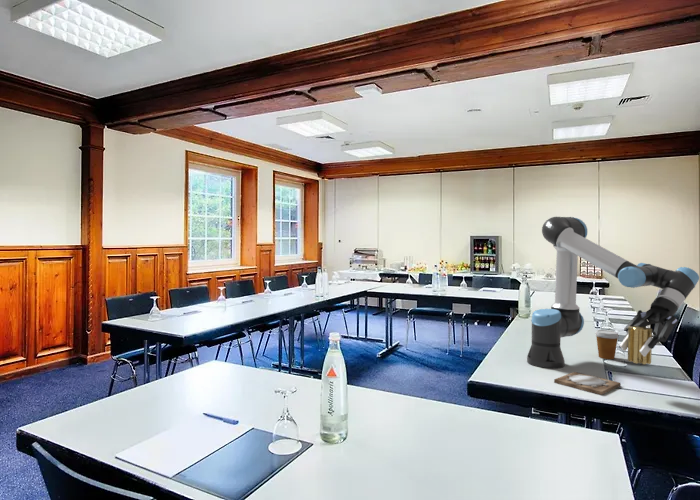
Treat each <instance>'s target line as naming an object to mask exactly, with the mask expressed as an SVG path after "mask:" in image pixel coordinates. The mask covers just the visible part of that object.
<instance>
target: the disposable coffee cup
mask: <svg viewBox="0 0 700 500" xmlns="http://www.w3.org/2000/svg"><path fill="white" fill-rule="evenodd" d="M594 334H595V337H596V344H597V353H598V354H597V355H598V357H599V358H600V359H603V360H614V359H615V357H616V350H617V345H618V340H619V337H620V335H619V333H618V332H617V331H614V330H609V329H608V330H607V329H597V330H596V331H595V333H594Z"/></svg>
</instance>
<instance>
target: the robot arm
mask: <svg viewBox="0 0 700 500" xmlns="http://www.w3.org/2000/svg"><path fill="white" fill-rule="evenodd" d="M541 233H542V236H543V238H544V239H545V241H547V242H549V243H550V244H551V245H553V248H554V249H555V250H556V265H555V266H556V267H555V291H554V294H555V295H554V303H552V304H551V306H550V308H541V309H539V308H538V309H536V310H535V311H532V315H531V320H530V321H531V344H530V347H529V351H528V353H527V355H526V362H527V363H528V364H530V365H532V366H535V367H539V368H546V369H561V368H563V367H565V357H564V354H563V350H562V348H561V338H566V337H573V336H575V335H577V334H579V333H581V331H582V330H583V328H584V325H585V319H584V316H583V315H582V314H581V312H580V307H579V306H578V305H577V282H578V281H577V280H578V258H581V259H582V260H585V261H586V262H588V263H590V264H592V265H593V266H595V267H596V268H599V269H600V270H601V271H604V272H606V273H607V274H609V275H611V276H612V277H614V278H616V279H618V282H619V283H620V284H621V285H622V286H624V287H626V288H633V289H635V288H641V287H647V286H648V287H650V286H652V287H656V288H659V289H661V290H660V292H659V293H658V294H657V296H656V298H655V299H654V300H653V301H652V302H651V304H650V307H649V309H648V310H647V311H642V310H641V309H640V310H638V311H637V313H636V315H635V316H634V317H633V318H632V319H631V321H630V322H628V323H627V324H626V326H625V327H624V331H625V332H626V334H625V335H624V336H623V339H622V342H621V343H620V344H619V347H620V348H621V350H622V351H624V352H626V350H628V330H629V326H639V327H642V326H643V327H646V328H647V327H648V326H651V325H654V329H653V331H652V335H651V336H652V337H649V338H648V340H647V341H646V342H645V344H644V345H643V347H642V348H641V349H640V353H641V354H642V355H643V356H644V357H645V356H646V355H647V354H648V352H649V351H650V349H654V348H655V347H656V345H657V344H658V343H660V342H662V343H666V341H668V338H669V337H670V334H671V333H672V331H673V328H674V327H675V326H676V325H677V324H678V323H679V320H678V319H677V318H676V316H675V315H676V313H677V312H678V310H679V309H680V307H682V304H683V303H684V302H685V300H686V299H687V298H688V296H689V295H690V294H691V292H692V291H693V290H694V289H695V288H696V285H697V284H698V282H699V281H700V276H699V273H698V272H697V271H696V270H694V269H693V268H690V267H686V266H683V267H682V266H680V267H678V268H677V269H676V270H671V269H666V268H663V267H659V266H656V265H653V264H651V263H644V262H639V263H638V264H634V263H632V262H631V261H629V260H627V259H625V258H624V257H621V256H620V255H618V254H617V253H614V252H612V251H610V250H608V249H607V248H604V247H603V246H601V245H599V244H597V243H595V242H593V241H591V240H589V239H588V238H587V236H588V227H587V224H586V223H585V222H584V221H583V220H582V219H581V218H577V217H573V216H552V217H549V218H547V220H545V222H544V223H543V225H542V227H541Z"/></svg>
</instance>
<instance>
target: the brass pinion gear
mask: <svg viewBox="0 0 700 500" xmlns="http://www.w3.org/2000/svg"><path fill="white" fill-rule="evenodd" d="M651 335H653V328H651V327H647V326H646V327H643V326H642V327H639V326H629V330H628V348H627V361H628V362H629V363H630V362H633V364H642V365H647V364H648V365H651V364H652V349H650V351H649V352H648V354H647V355H646V356H645V357H644V356H643V355H642V354H641V353H640V349H641V348H642V347H643V345H644V344H645V342H646V341H647V340H648V338H649V337H652V336H651ZM652 338H653V337H652Z"/></svg>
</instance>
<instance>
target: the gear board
mask: <svg viewBox="0 0 700 500" xmlns="http://www.w3.org/2000/svg"><path fill="white" fill-rule="evenodd" d="M553 381H554V383H555V384H558V385H562V386H566V387H569V388H574V389H577V390H580V391H581V390H582V391H584V392H589V393H592V394H596V395H599V396H603V395H605V394H606V393H610V392H611V391H613V390H615V389H617V388H619V387H621V385H622V384H621V382H618V381H615V380H610V379H607V378H602V377H598V376H595V375H589V374H585V373H582V372H581V373H580V372H576V371H573V372H571V373H568V374H565V375H563V376H560V377H557V378H555V379H554V380H553Z"/></svg>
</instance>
